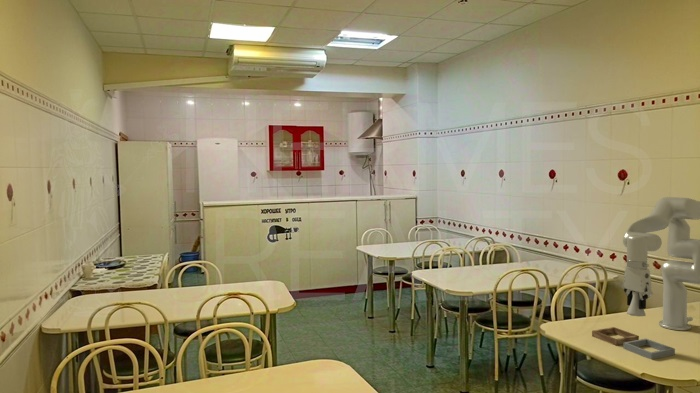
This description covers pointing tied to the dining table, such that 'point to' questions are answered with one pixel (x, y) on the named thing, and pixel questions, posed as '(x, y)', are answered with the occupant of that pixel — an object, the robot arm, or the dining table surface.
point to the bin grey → (663, 349)
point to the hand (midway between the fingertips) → (636, 306)
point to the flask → (635, 306)
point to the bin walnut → (603, 336)
